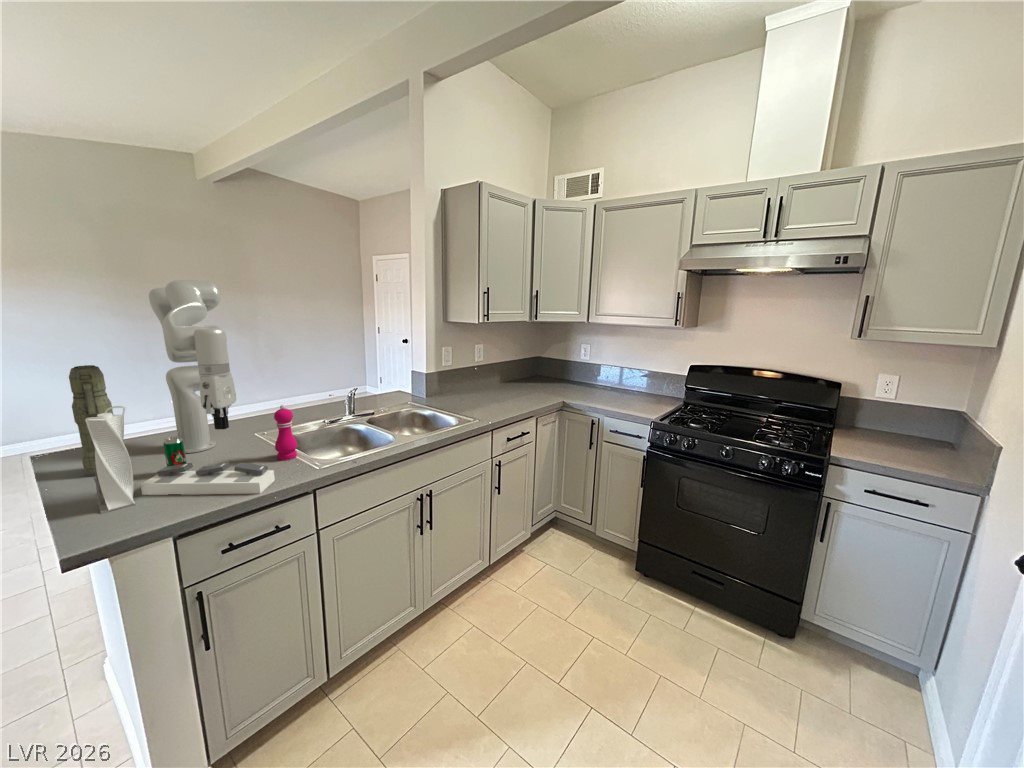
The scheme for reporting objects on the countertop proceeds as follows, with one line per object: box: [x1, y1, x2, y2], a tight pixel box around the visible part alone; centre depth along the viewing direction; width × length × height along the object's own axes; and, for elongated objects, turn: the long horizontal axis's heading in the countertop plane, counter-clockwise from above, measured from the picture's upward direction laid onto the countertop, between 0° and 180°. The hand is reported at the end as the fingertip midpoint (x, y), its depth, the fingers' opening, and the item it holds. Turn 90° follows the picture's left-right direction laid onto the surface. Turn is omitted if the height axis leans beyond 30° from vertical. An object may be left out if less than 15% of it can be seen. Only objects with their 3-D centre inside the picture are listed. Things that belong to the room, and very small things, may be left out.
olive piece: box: [68, 364, 114, 477], centre depth 130 cm, size 9×12×35 cm
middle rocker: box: [194, 462, 231, 476], centre depth 126 cm, size 8×4×2 cm, turn 95°
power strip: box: [140, 469, 276, 496], centre depth 125 cm, size 33×9×4 cm, turn 95°
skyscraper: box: [85, 405, 136, 515], centre depth 111 cm, size 8×8×28 cm
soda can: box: [162, 435, 187, 467], centre depth 133 cm, size 5×5×12 cm
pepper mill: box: [273, 404, 298, 461], centre depth 148 cm, size 7×7×20 cm
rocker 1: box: [156, 462, 194, 476], centre depth 125 cm, size 8×4×2 cm, turn 95°
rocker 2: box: [233, 462, 269, 475], centre depth 127 cm, size 8×4×2 cm, turn 95°
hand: (222, 428), depth 124 cm, fingers closed
